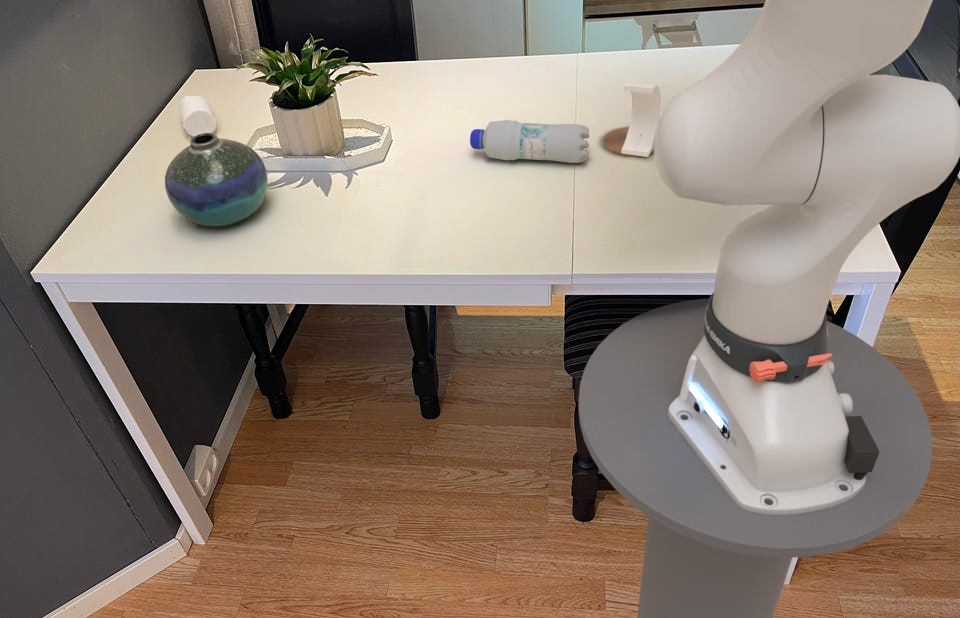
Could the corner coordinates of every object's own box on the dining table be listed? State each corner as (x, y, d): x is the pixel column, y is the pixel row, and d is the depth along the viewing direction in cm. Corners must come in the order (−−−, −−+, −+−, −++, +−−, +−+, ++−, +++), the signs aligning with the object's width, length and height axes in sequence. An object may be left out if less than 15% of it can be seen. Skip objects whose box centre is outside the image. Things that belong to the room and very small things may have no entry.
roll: (211, 109, 158) (202, 83, 155) (220, 133, 150) (211, 106, 146) (180, 116, 157) (171, 89, 153) (187, 141, 148) (178, 113, 144)
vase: (294, 196, 130) (275, 122, 121) (236, 248, 119) (211, 170, 111) (219, 182, 135) (196, 110, 127) (158, 230, 124) (128, 155, 116)
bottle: (586, 173, 131) (468, 166, 135) (589, 146, 135) (475, 141, 139) (586, 141, 126) (464, 135, 129) (590, 114, 130) (471, 109, 133)
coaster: (671, 151, 133) (671, 149, 132) (613, 160, 132) (613, 158, 132) (651, 125, 140) (651, 123, 140) (596, 133, 140) (596, 131, 139)
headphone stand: (621, 153, 133) (624, 85, 125) (631, 137, 137) (635, 70, 129) (648, 157, 131) (653, 88, 123) (657, 140, 135) (663, 73, 128)
